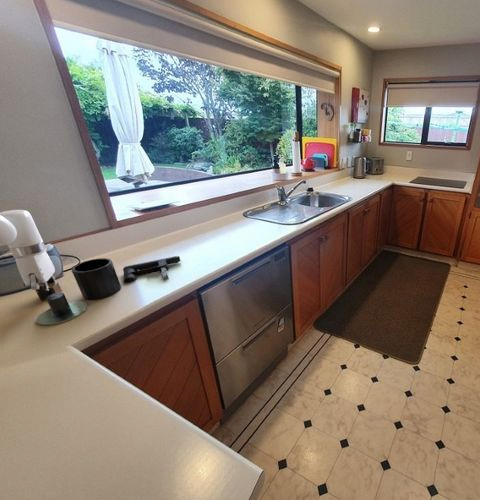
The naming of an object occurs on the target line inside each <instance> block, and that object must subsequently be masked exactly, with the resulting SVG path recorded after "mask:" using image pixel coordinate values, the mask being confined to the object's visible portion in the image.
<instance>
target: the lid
mask: <svg viewBox="0 0 480 500" xmlns="http://www.w3.org/2000/svg"><path fill="white" fill-rule="evenodd" d="M45 301H46V302H47V304H48V306H49V309H46V310H45V311H42V313H40V314H39V315H38V316H37V318H36V323H37V324H38V325H40V326H46V327H48V326H56V325H59V324H64V323H67V322H69V321H72V320H74V319H76V318H78V317H80V316H81V315H82V314H84V313H85V312H86V311H87V310H88V308H89V306H88V303H86V302H85V301H70V302H69V301H68V299H67V297H66V295H65V293H64V292H61V293H55V294H52V295H50V296H48V297H47V298H46V300H45Z"/></svg>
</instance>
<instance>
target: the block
mask: <svg viewBox="0 0 480 500" xmlns="http://www.w3.org/2000/svg"><path fill="white" fill-rule="evenodd" d="M47 284H48V287H49V289H51V290H52V292H53V294H55V293H63V292H62V291H63V290H62V288H61V286H60V284H59V281H55V282H52V283H47ZM39 285H40V286H44V285H43V284H39ZM35 293H36V294H37V297H38V299H39V300H40V301H42V300H41V298H40V296H39V294H38V292H36V291H35Z"/></svg>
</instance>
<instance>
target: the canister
mask: <svg viewBox="0 0 480 500" xmlns="http://www.w3.org/2000/svg"><path fill="white" fill-rule="evenodd" d="M70 270H71V272H72V276H73V278H74V280H75V282H76V284H77V286H78V289H79V291H80V293H81V296H82V298H83V299H84V300H85V301H99V300H104V299H107V298H110V297H112V296H115V295H116V294H118V293H119V292H120V291H121V289H122V285H121V283H120V280H119V277H118V274H117V271H116V268H115V265H114V263H113V261H112V259H110V258H106V257H104V258H103V257H102V258H101V257H100V258H93V259H88V260H85V261H82V262H78V263H77V264H75V265H74V266H73V267H72V268H70Z"/></svg>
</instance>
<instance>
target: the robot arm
mask: <svg viewBox="0 0 480 500" xmlns="http://www.w3.org/2000/svg"><path fill="white" fill-rule="evenodd" d="M3 246H7V247H8V249H9V251H10V253H11V255H12V257H13V258H14V259H15V264H16V267H17V269H18V272H19V275H20V276H21V279H22V282H23V283H24V285H25V286H27V287H29V286H30V288H31V290H33V291H35V293H36V292H38V294H39V296H40V298H41V300H40V301H47V300H46V298H47V297H48V296H50V295H52V294H53V292H52V290H51V289H49V287H48V284H47V283H52V282H57V278H56V277H55V272H56V269H55V265H54V263H53V261H52V259H51V258H50V255H49V254H48V252H47V250H48V248H47V246H46V245H45V242H44V240H43V238H42V236H41V234H40V231H39V230H38V227H37V225H36V223H35V221H34V218H33V216H32V215H31V213H30V211H28V210H25V209H11V210H10V209H9V210H4V211H0V247H3ZM41 284H43V285H44V286H40V285H41ZM40 298H39V299H40Z"/></svg>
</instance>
